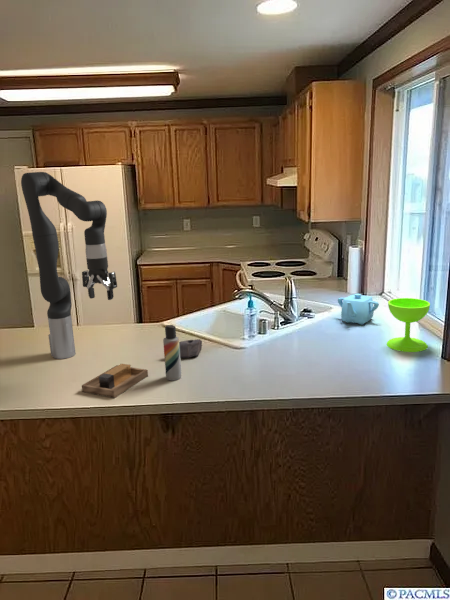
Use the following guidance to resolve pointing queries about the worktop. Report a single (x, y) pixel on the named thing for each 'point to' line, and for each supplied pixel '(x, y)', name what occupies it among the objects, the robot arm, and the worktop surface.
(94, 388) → the brown wooden tray
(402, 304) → the wineglass
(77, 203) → the robot arm
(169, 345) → the lotion bottle
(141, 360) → the worktop surface
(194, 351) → the perforated stone tool
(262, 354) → the worktop surface
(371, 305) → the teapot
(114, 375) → the battery cell
